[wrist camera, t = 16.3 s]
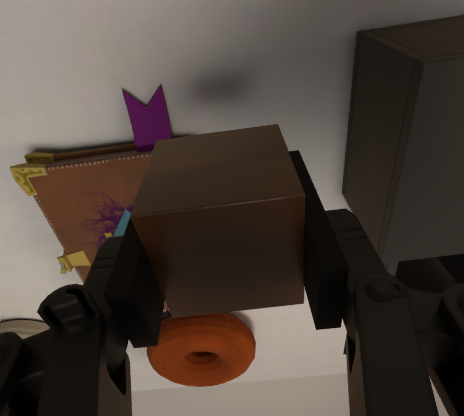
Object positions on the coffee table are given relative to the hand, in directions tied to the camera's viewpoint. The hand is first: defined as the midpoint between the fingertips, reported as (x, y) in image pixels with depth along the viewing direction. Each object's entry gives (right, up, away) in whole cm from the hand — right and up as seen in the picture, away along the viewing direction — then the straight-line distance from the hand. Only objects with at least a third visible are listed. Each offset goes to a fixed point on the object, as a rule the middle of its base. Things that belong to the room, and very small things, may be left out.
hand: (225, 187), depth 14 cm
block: (0, 0, 0) cm, 0 cm away
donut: (-4, -19, +32) cm, 37 cm away
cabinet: (+16, +7, +14) cm, 22 cm away
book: (-10, -1, +19) cm, 21 cm away
